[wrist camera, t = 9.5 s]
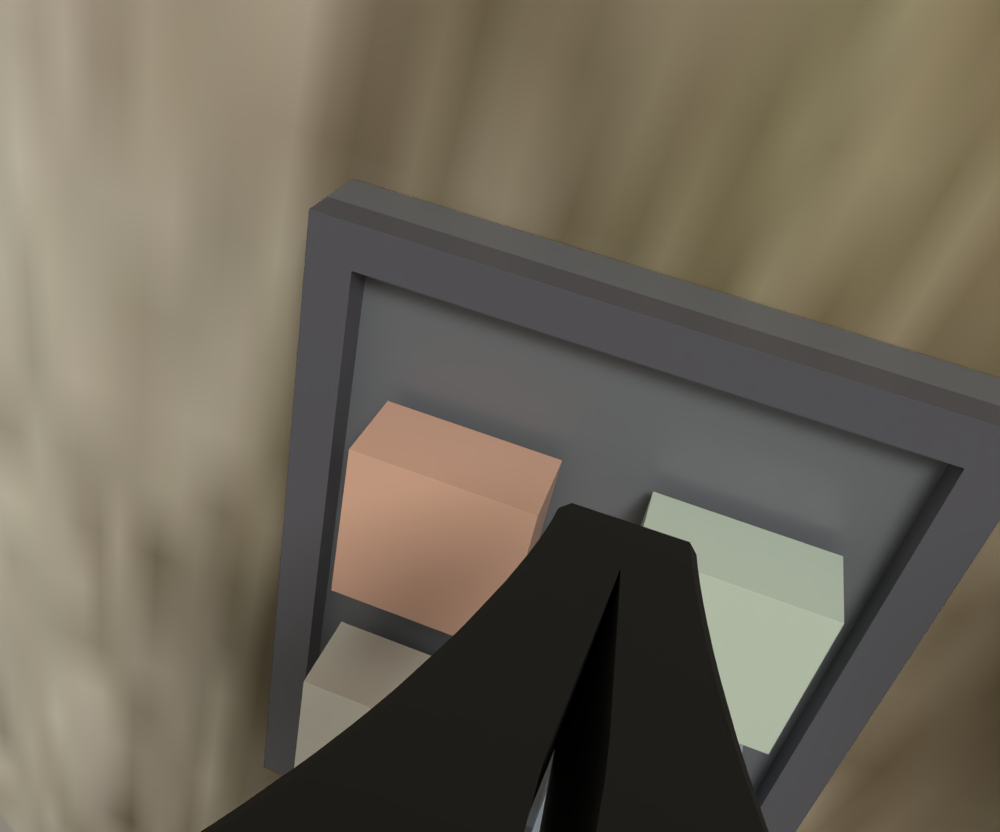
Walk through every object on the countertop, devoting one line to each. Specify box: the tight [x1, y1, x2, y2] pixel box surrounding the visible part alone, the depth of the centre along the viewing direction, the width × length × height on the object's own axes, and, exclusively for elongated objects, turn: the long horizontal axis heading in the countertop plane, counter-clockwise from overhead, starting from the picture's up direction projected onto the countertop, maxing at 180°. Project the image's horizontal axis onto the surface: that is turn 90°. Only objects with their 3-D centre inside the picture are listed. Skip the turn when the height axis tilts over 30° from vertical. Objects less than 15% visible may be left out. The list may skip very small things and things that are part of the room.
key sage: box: [641, 492, 844, 754], centre depth 19 cm, size 4×4×2 cm
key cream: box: [294, 622, 431, 768], centre depth 23 cm, size 4×4×2 cm
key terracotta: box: [331, 401, 562, 636], centre depth 20 cm, size 4×4×2 cm
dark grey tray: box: [264, 179, 1000, 832], centre depth 23 cm, size 14×18×2 cm
